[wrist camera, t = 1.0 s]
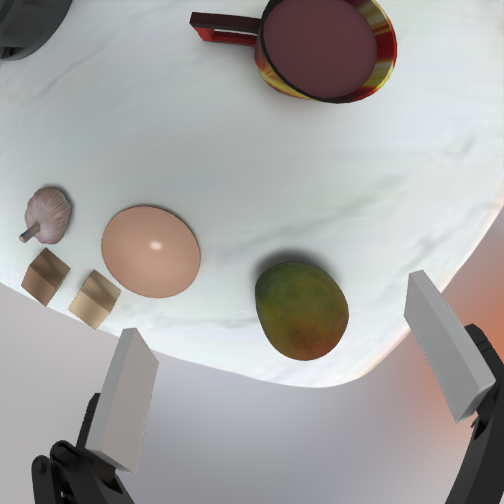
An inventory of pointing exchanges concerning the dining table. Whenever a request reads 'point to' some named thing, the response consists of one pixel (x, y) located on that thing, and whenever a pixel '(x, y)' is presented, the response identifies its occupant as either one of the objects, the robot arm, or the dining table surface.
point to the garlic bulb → (46, 216)
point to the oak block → (95, 300)
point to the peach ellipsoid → (150, 252)
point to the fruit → (301, 310)
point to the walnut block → (45, 276)
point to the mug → (313, 46)
